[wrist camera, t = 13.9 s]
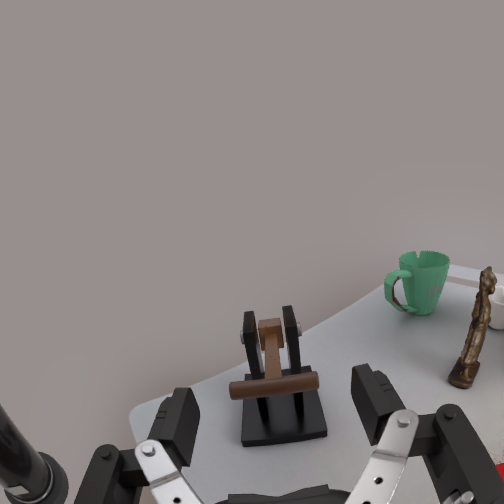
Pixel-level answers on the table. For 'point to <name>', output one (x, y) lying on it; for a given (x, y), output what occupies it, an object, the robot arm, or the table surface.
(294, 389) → the lever
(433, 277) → the mug
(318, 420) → the bracket
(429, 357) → the table surface
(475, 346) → the figurine
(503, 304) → the teacup
